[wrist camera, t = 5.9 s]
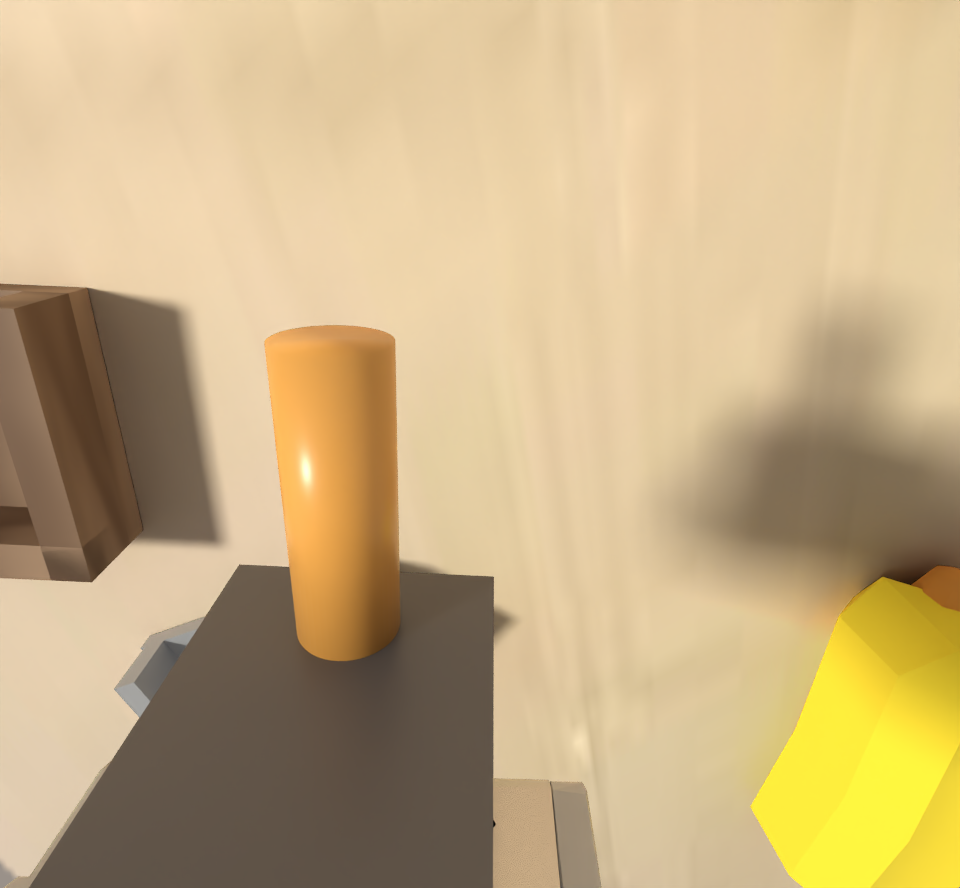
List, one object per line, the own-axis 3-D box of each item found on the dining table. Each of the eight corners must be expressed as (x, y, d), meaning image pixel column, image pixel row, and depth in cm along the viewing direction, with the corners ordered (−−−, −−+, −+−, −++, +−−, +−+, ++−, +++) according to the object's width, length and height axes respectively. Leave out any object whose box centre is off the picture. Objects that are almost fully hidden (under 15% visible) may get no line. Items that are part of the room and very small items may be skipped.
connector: (509, 323, 8) (529, 543, 3) (478, 823, 12) (467, 1229, 7) (200, 309, 8) (-231, 508, 3) (278, 813, 12) (142, 1212, 7)
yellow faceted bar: (1026, 554, 25) (845, 534, 25) (1199, 679, 19) (960, 653, 18) (862, 827, 32) (722, 814, 32) (947, 980, 26) (775, 964, 26)
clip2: (242, 603, 26) (211, 657, 24) (298, 681, 28) (275, 739, 25) (150, 635, 27) (109, 690, 24) (210, 708, 29) (179, 768, 26)
